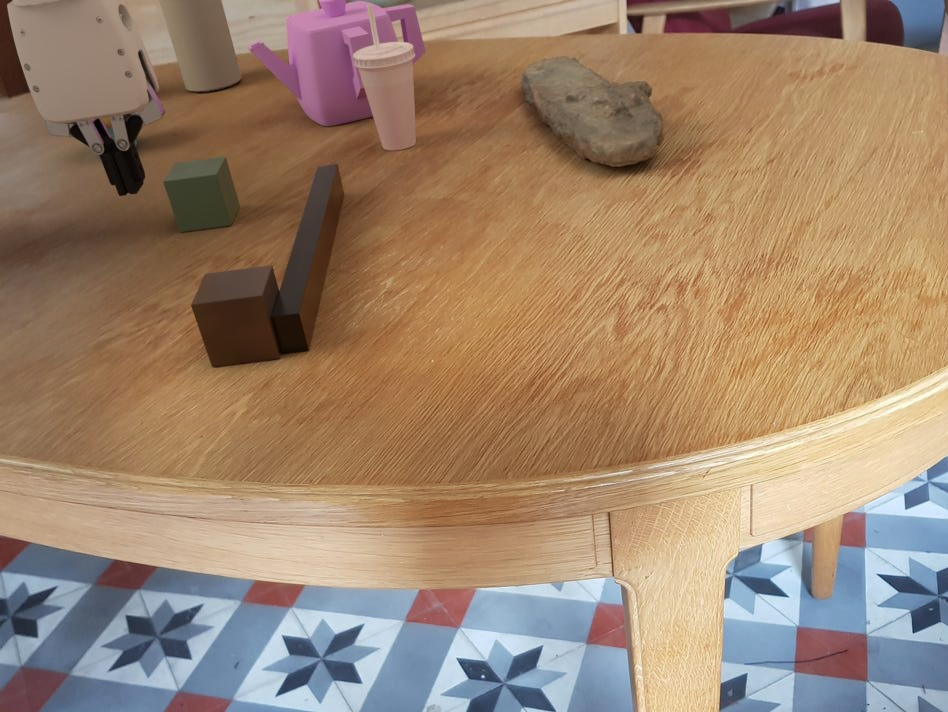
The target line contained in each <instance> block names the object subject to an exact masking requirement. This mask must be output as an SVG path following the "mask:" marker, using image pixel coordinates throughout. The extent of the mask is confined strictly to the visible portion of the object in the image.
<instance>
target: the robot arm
mask: <svg viewBox="0 0 948 712" xmlns="http://www.w3.org/2000/svg"><path fill="white" fill-rule="evenodd" d="M6 8H7V14H8V18H9V19H8V20H9V24H10V28H11V33H12V38H13V41H14V45H15V49H16V53H17V56H18V59H19V63H20V65H21V69H22V72H23V76H24V78H25V81H26V84H27V87H28V89H29V93H30V94H31V97H32V99H33V102H34V104H35V106H36V109H37V110H38V112H39V115H40V116H41V117H42V119H43V120H44V121H45V127H46V131H47V133H48V134H49V135H50V136H53V137H60V138H61V137H63V138H74V139H75V140H77V141H79V142H81V143H82V144H83V145H85V146H87V147H89V148H90V150H91V152H92V153H93V154H95V155H97V156H99V158H100V161H101V164H102V166H103V169H104V171H105V174H106V177H107V179H108V182H109V184H110V185H111V186H114V187H115V189H116V192H117V194H118V196H119V197H123V196H126V195H127V194H129V195H137V194H138V193H139V191H140V190H141V188H142V187H143V185H144V183H145V182H144V181H145V179H146V172H145V169H144V166H143V163H142V160H141V158H140V155H139V152H138V150H137V149H138V148H137V145H136V146H135V143H134V142H135V140H136V139H137V138H138V136H139V134H140V132H141V130H142V129H143V127H145V126H148V125H150V124H153V123H156V122H157V121H160V120H161V119H162V118H163V117H164V115H165V114H166V109H165V107H164V105H163V103H162V101H161V100H160V98H159V96H158V94H159V91H160V85H159V82H158V78H157V75H156V72H155V69H154V67H153V63H152V61H151V58H150V56H149V53H148V51H147V48H146V46H145V44H144V41H143V39H142V37H141V33H140V31H139V30H138V28H137V25H136V23H135V20H134V19H133V16H132V14H131V12H130V10H129V8H128V6H127V4H126V1H125V0H12V1H10V2H8V3H7V4H6ZM106 117H110V120H111V124H112V129H113V133H114V138H115V142H116V143H115V142H114V140H113V139H112V137H111V135H110V133H109V131H108V129H107V127H106V125H105V123H104V121H103V120H102V118H106Z"/></svg>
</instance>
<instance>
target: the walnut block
mask: <svg viewBox="0 0 948 712" xmlns="http://www.w3.org/2000/svg"><path fill="white" fill-rule="evenodd" d="M279 290H280V288H279V285H278V281H277V278H276V273H275V270H274V266H273V265H272V264H270V265H263V266H262V265H261V266H256V267H255V266H254V267H248V268H240V269H233V270H225V271H218V272H210V273H204V275H203V278H202V280H201V282H200V284H199V287H198V289H197V290H196V293H195V295H194V298H193V299H192V301H191V304H190V306H191V310H192V312H193V313H192V314H193V316H194V318H195V321H196V325H197V328H198V330H199V334H200V337H201V339H202V342H203V345H204V348H205V351H206V354H207V357H208V360H209V362H210V363H209V364H210V365H211V367H212V368H217V367H225V366H231V365H232V366H233V365H240V364H248V363H249V364H250V363H256V362H263V361H272V360H279V359H281V357H282V353H281V349H280V346H279V342H278V339H277V335H276V332H275V328H274V325H273V321H272V318H271V316H272V313H273V310H274V307H275V303H276V300H277V297H278V294H279Z"/></svg>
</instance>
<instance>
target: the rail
mask: <svg viewBox="0 0 948 712" xmlns="http://www.w3.org/2000/svg"><path fill="white" fill-rule="evenodd" d="M344 197H345V190H344V186H343V181H342V177H341V172H340V168H339V164H338V163H335V164H327V165H320V166H317V168H316V171H315V174H314V177H313V180H312V183H311V187H310V190H309V193H308V195H307V200H306V203H305V205H304V209H303V212H302V216H301V219H300V222H299V226H298V229H297V231H296V235H295V239H294V242H293V245H292V249H291V252H290V255H289V258H288V261H287V263H286V264H287V265H286V268H285V271H284V275H283V278H282V281H281V285H280V288H279V294H278V297H277V300H276V303H275V307H274V310H273V313H272V316H271V318H272V321H273V325H274V328H275V332H276V335H277V339H278V342H279V346H280V349H281V355H283V354H290V353H292V354H293V353H298V352H299V353H301V352H306V351H307V352H308V351H310V347H311V342H312V338H313V333H314V329H315V325H316V321H317V315H318V311H319V307H320V302H321V298H322V294H323V293H322V292H323V289H324V286H325V280H326V278H327V277H326V276H327V272H328V267H329V263H330V258H331V254H332V249H333V247H334V246H333V245H334V241H335V236H336V232H337V227H338V223H339V219H340V214H341V211H342V210H341V209H342V206H343V201H344Z"/></svg>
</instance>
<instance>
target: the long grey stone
mask: <svg viewBox="0 0 948 712" xmlns="http://www.w3.org/2000/svg"><path fill="white" fill-rule="evenodd" d="M520 88H521V91H522V93H524V94H525V95H524V96H525V99H524V101H525V102H526V103H527V104H528V105H529V106H531V107H532V108H533V109H535V110H536V111H537V116H538V117H539V119H540V122H541V124H546V125H548V127H549V128H550V129H551V130H552V133H553V135H554V136H555V137H556V138H558V139H560V140H562V142H563V143H565V144H566V145H568V146H569V148H571V149H572V150H573V151H575V153H576V154H577V155H578V156H579V157H580V159H582V160H589V161H590V162H592V163H599V164H602V165H605V166H609V167H612V168H615V167H618V168H619V167H624V166H627V165H628V166H629V165H636V164H638V163H640V162H644V161H647V160H648V159H652V158H654V157H655V154H656V150H657V149H656V147H657V146H659V147H661V145H662V143H663V141H664V139H665V137H664V120H663V116H662V113H661V112H660V111H659V110H658V109H656V108H655V105H654V104H653V103H652V102H651V99H650V98H651V96H652V94H653V87H652V86H650V84H649V83H648V82H647V81H645V80H642V81H641V80H638V81H628V82H627V81H626V82H624V83H622V84H621V83H619V82H616V81H612V82H609V80H608V79H606V78H603V76H602V75H600V74H598V73H597V72H594V70H593V69H592V68H588V67H587V66H585V65H584V64H581V63H580V61H579V60H578V59H577V57H572V58H570V57H569V56H565V55H562V56H555V57H550V58H542V59H541V60H539V61H535V62H533V63H531V64H530V65H529V66H528V67H527V68H525V69H524V71H523V72H522V73H521V80H520Z"/></svg>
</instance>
